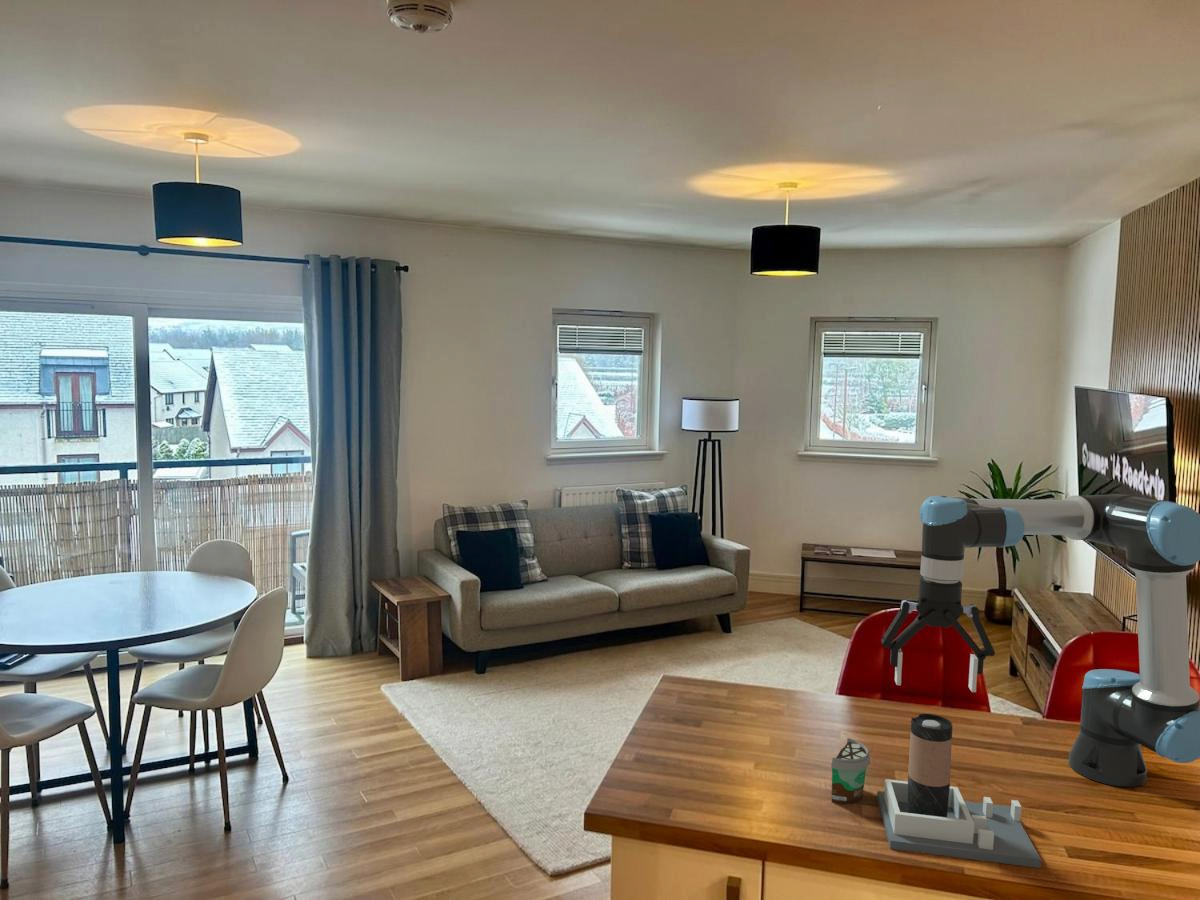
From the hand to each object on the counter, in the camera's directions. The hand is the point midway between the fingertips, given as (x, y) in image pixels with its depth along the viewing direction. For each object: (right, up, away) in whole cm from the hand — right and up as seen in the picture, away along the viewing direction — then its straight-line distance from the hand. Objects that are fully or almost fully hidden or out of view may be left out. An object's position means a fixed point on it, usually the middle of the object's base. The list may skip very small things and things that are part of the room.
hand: (934, 686), depth 160 cm
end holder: (-1, -27, +2) cm, 27 cm away
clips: (+12, -27, -1) cm, 30 cm away
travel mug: (-1, -27, +2) cm, 27 cm away
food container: (-12, -27, +14) cm, 33 cm away
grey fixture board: (+4, -29, +2) cm, 29 cm away
